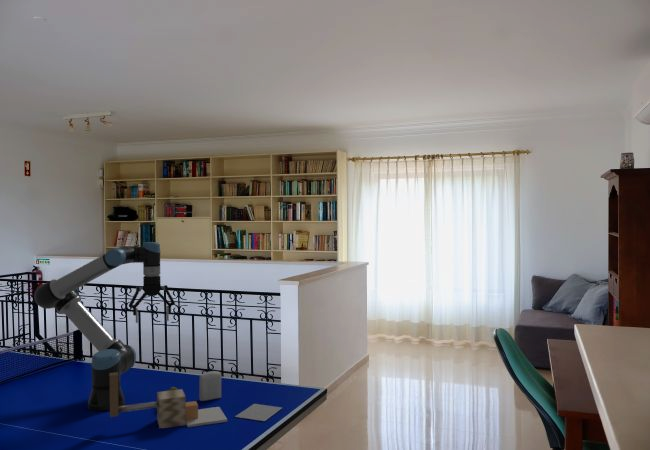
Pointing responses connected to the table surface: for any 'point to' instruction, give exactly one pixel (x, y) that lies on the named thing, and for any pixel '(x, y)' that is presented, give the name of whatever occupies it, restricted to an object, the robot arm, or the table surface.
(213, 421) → the mat
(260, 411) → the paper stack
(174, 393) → the bearing block
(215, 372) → the photo printer
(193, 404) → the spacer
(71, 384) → the table surface
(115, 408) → the handled brown block
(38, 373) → the table surface
